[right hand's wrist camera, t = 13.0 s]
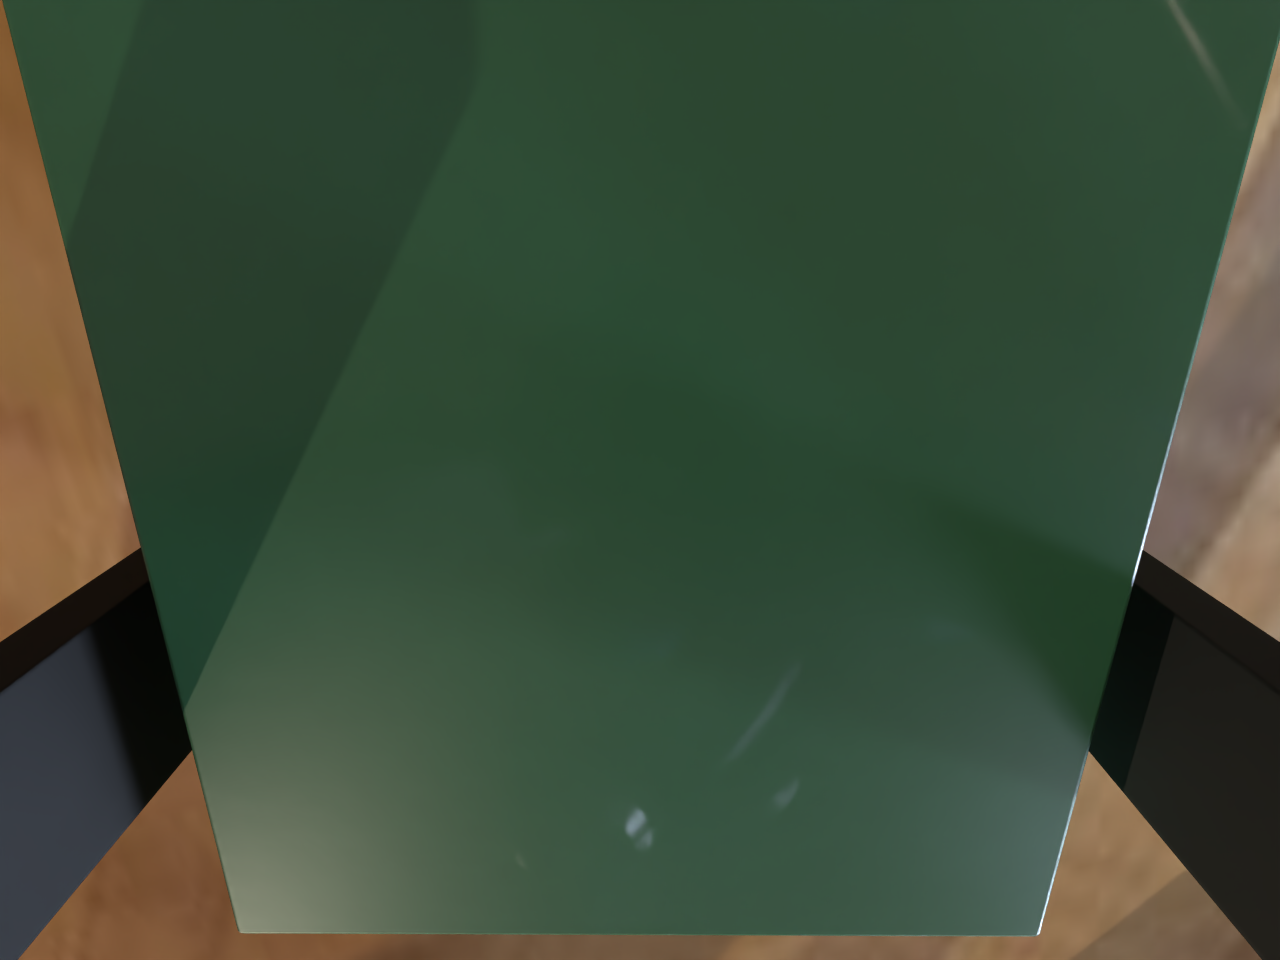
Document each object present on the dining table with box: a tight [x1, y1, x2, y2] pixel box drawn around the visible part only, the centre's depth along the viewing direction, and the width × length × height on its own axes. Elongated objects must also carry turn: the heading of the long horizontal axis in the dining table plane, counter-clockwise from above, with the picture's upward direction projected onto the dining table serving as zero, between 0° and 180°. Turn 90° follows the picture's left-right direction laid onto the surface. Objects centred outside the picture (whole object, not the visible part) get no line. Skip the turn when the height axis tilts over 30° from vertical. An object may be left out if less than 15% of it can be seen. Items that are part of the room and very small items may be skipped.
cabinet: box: [2, 0, 1280, 936], centre depth 13 cm, size 17×11×12 cm, turn 0°
